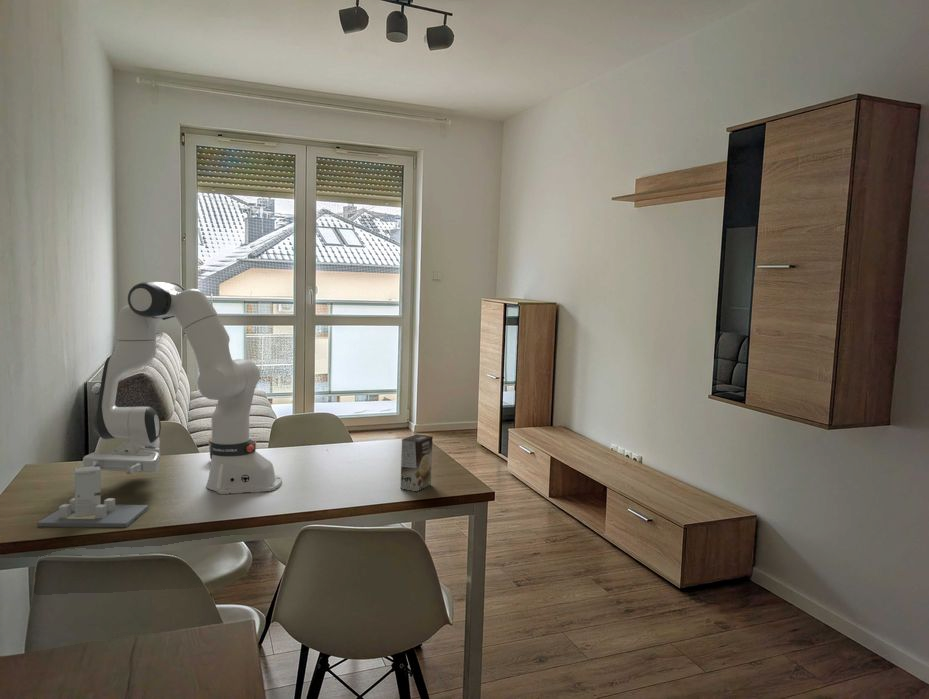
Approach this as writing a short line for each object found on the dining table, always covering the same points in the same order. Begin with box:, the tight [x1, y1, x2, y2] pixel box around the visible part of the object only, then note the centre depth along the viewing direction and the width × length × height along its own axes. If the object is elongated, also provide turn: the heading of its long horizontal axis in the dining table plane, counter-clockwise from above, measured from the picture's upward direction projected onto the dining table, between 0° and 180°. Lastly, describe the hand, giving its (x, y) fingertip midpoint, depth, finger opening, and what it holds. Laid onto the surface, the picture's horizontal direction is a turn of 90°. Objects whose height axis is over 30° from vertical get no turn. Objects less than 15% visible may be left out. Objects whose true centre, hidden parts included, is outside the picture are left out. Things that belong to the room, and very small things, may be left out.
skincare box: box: [74, 466, 102, 517], centre depth 174 cm, size 6×4×12 cm
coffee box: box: [400, 434, 433, 492], centre depth 208 cm, size 9×6×16 cm
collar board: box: [37, 497, 150, 528], centre depth 175 cm, size 22×14×4 cm, turn 94°
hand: (111, 470), depth 186 cm, fingers open, 8 cm apart
